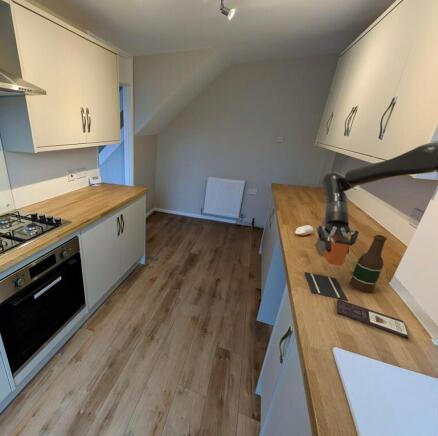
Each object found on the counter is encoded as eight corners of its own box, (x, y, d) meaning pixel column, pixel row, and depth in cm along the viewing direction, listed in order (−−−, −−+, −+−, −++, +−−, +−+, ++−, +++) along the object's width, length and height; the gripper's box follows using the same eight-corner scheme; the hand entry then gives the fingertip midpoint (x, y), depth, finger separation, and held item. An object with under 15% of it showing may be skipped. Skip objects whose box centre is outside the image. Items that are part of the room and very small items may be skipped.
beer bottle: (344, 283, 103) (362, 232, 95) (359, 281, 104) (378, 231, 96) (362, 294, 96) (383, 241, 88) (378, 292, 97) (400, 239, 89)
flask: (332, 257, 124) (344, 222, 117) (319, 254, 127) (330, 220, 119) (326, 245, 137) (337, 213, 130) (315, 243, 139) (324, 211, 132)
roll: (302, 230, 144) (300, 238, 146) (314, 227, 149) (312, 235, 151) (293, 226, 149) (291, 234, 151) (304, 223, 154) (302, 231, 156)
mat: (335, 278, 106) (335, 277, 106) (347, 300, 92) (348, 299, 92) (304, 272, 110) (304, 271, 110) (311, 292, 97) (311, 291, 96)
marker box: (336, 257, 99) (344, 234, 95) (342, 266, 93) (350, 242, 89) (323, 255, 101) (330, 232, 97) (328, 263, 94) (335, 239, 91)
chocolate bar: (338, 299, 92) (402, 320, 82) (337, 301, 92) (401, 322, 82) (337, 312, 85) (408, 337, 75) (337, 314, 86) (407, 339, 76)
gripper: (319, 208, 99) (319, 246, 93) (362, 212, 94) (364, 253, 88) (313, 216, 105) (312, 252, 99) (353, 220, 100) (354, 259, 94)
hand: (337, 252), depth 93 cm, fingers closed on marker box, 4 cm apart
